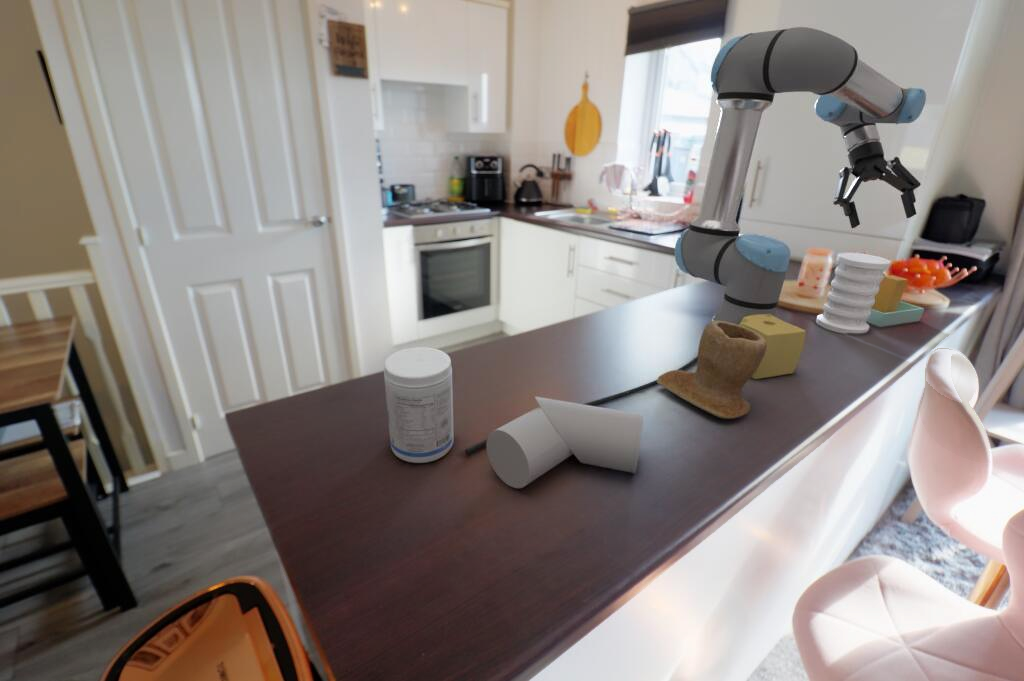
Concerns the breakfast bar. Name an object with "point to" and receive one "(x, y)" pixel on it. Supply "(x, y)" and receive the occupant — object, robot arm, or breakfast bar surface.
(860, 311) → the decorative container
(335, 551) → the breakfast bar surface
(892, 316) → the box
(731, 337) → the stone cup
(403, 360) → the supplement tub
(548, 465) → the l-shaped cylinder
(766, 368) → the cheese
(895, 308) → the mustard block
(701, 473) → the breakfast bar surface
